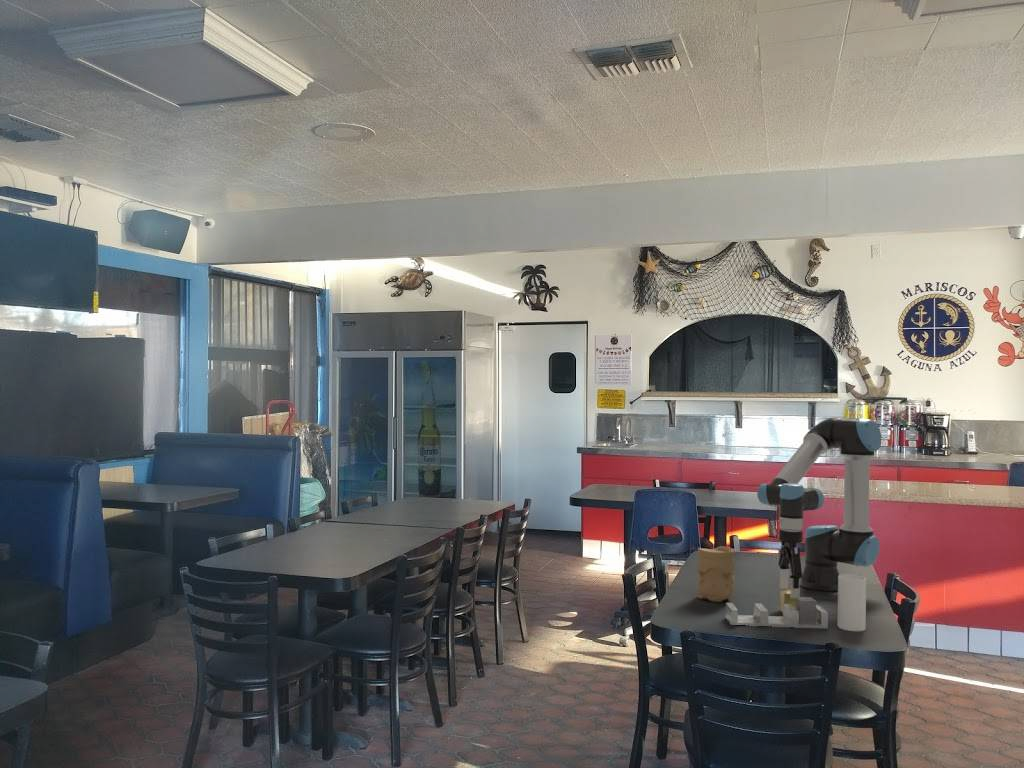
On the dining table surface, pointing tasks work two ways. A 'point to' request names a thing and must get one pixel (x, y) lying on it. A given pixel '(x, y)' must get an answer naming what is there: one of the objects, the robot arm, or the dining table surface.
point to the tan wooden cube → (786, 599)
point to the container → (715, 573)
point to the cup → (851, 602)
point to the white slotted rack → (800, 617)
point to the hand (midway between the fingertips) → (789, 593)
